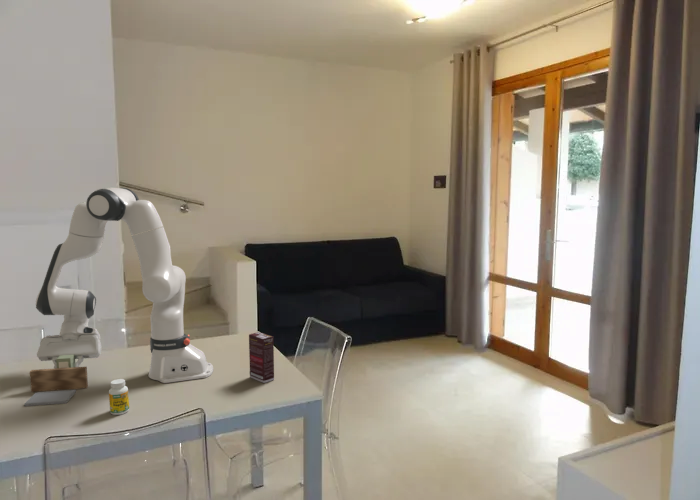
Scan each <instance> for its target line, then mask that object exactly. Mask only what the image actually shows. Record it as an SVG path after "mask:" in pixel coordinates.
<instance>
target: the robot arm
mask: <svg viewBox="0 0 700 500" xmlns="http://www.w3.org/2000/svg"><path fill="white" fill-rule="evenodd" d="M74 207H75V208H74V210H73V213H72V216H71V219H70V224H69V230H68V235H67V238H66V239H65V240H64V242H63V243H60V244H58V245H57V246H56V247H55V250H54V251H53V254H52V257H51V259H50V262H49V265H48V268H47V272H46V274H45V277H44V280H43V283H42V286H41V288H40V290H39V292H38V294H37V296H36V300H35V308H36V309H37V311H38V312H39V313H41V314H42V315H43V316H63V321H62V323H61V326H60V327H61V328H60V331H59V334H54V335H53V334H52V335H49V334H48V335H45V336H44V337H42V338H41V339H40V343H39V347H38V349H37V352H36V357H37V358H38V359H39V361H40V362H47V361H48V362H49V361H52V363H53V365H54V366H53V369H55V368H57V364H56V359H57V358H58V357H59V356H60V355H74V356H75V360H77V361H75V363H74V364H73V366H72V367H80V365H81V364H82V363H84V359H97V358H99V357H100V356H101V355H102V343H101V335H100V332H99V331H98V329H97V328H95V327H91V326H89V322H90V319H91V318H92V317H93V316H94V314H95V308H96V305H97V304H96V303H97V297H96V296H95V294H94V293H92V291H90V290H87V289H86V290H85V289H77V288H64V287H59V286H57V283H58V280H59V277H60V274H61V272H62V269H63V266H65V265H66V264H68V263H72V262H75V261H80V260H85V259H88V258H90V257H93V256H95V255H96V254H97V253H99V252H100V250H101V249H102V247H103V246H102V245H103V242H104V239H105V238H104V237H105V231H106V229H105V228H106V225H107V223H108V221H110V222H111V221H113V222H117V221H118V222H119V221H120V220H121V221H123V222H124V223H126V225H127V227H128V229H129V233H130V235H131V239H132V242H133V245H134V247H135V250H136V253H137V257H138V261H139V266H140V274H141V280H142V281H141V282H142V286H141V287H142V288H141V289H142V294H143V296H144V297H145V299H146V300H148V301H149V302H151V303H152V309H151V312H150V334H151V335H150V339H149V347H150V353H151V359H150V368H149V372H148V378H149V379H151V380H154V381H157V382H158V381H159V382H161V383H163V384H168V383H176V382H182V381H191V380H197V379H204V378H205V379H206V378H208V377H210V376H211V375H212V374H213V373H214V365H213V364H212V363H211V362H208V361H207V357H206V355H205V352H204V351H203V350H201V349H199V348H197V347H196V346H194V345H193V344H191V338H190V334H186V333H185V331H184V329H185V328H184V305H185V295H186V282H187V281H186V280H187V276H186V273H185V271H184V269H183V268H181V267H180V266H178V265H173V262H172V261H173V260H172V253H171V252H172V251H171V249H172V248H171V244H170V242H169V239H168V236H167V233H166V230H165V226H164V224H163V222H162V219H161V216H160V215H159V213H158V211H157V209H156V206H155V205H154V203H152V202H151V201H150V200H148V199H147V200H146V199H140V198H139V197H138V195H137V193H136V192H134V191H133V190H132V189H129V188H126V187H113V186H111V187H106V188H105V187H104V188H99V189H96V190H94V191H93V192H91V193H90V195H88V197H87V199H86V201H85V202H80V203H78V204H77V205H76V206H74Z"/></svg>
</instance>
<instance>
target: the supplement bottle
mask: <svg viewBox="0 0 700 500" xmlns="http://www.w3.org/2000/svg"><path fill="white" fill-rule="evenodd" d="M108 400H109V412H110V414H112V415H113V416H121V415H124V414H126V413H128V412H129V411H130V398H129V388H128V386H126V380H125V379H124V378H119V379H117V378H116V379H113V380H112V381H110V389H109V390H108Z"/></svg>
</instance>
